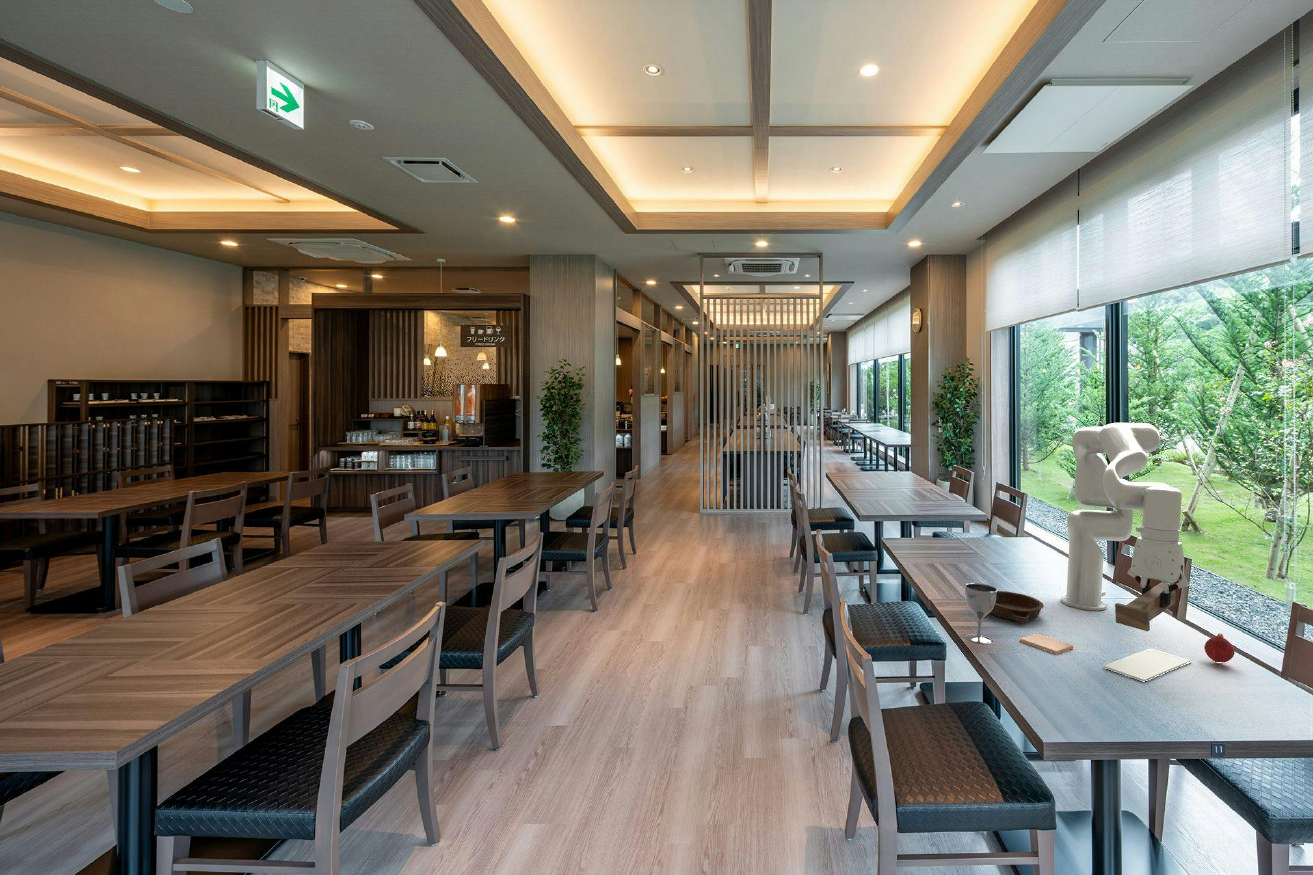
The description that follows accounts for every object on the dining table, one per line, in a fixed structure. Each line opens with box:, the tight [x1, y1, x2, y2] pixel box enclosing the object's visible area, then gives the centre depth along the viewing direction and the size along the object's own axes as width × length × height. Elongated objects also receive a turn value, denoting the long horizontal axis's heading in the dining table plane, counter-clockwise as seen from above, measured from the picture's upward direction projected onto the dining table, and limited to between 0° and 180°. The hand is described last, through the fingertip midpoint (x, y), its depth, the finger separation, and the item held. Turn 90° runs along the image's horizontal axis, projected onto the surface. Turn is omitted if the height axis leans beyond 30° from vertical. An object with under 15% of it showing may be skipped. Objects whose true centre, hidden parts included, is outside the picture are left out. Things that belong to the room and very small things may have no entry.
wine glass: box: [964, 582, 998, 645], centre depth 178 cm, size 8×8×15 cm
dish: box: [989, 590, 1045, 623], centre depth 200 cm, size 18×22×5 cm
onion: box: [1203, 632, 1235, 663], centre depth 163 cm, size 6×6×8 cm
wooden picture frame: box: [1019, 632, 1074, 655], centre depth 175 cm, size 1×10×8 cm
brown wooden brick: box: [1114, 581, 1177, 632], centre depth 161 cm, size 19×7×5 cm, turn 118°
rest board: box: [1102, 647, 1192, 681], centre depth 162 cm, size 24×9×1 cm, turn 119°
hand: (1155, 604), depth 163 cm, fingers closed on brown wooden brick, 3 cm apart
